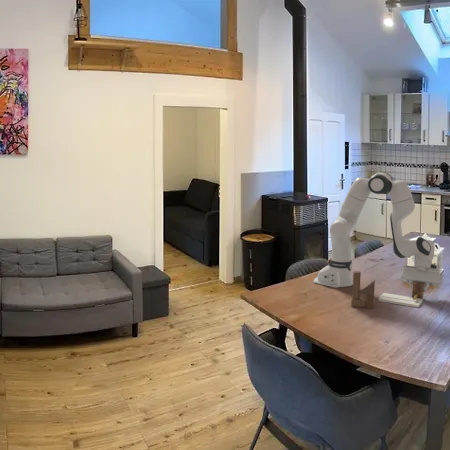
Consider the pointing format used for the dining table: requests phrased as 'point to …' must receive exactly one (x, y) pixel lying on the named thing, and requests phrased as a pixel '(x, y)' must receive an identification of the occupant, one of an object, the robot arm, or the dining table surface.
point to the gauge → (417, 290)
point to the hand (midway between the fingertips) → (417, 289)
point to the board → (400, 300)
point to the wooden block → (367, 290)
